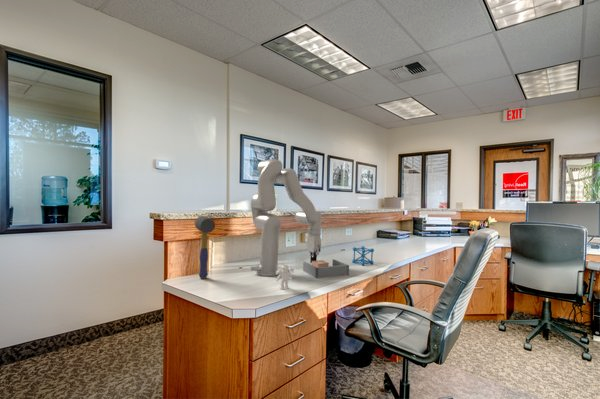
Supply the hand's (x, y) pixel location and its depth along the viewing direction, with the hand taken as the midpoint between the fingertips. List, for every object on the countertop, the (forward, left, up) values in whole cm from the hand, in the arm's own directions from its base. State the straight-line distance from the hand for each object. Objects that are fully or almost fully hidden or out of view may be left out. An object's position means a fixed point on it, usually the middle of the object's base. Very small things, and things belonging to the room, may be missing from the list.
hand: (313, 263), depth 180 cm
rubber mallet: (-63, -4, -2) cm, 63 cm away
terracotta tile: (+1, -5, -2) cm, 6 cm away
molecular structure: (+34, -3, -2) cm, 34 cm away
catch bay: (0, -14, -2) cm, 14 cm away
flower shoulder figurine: (-32, -32, -2) cm, 45 cm away
